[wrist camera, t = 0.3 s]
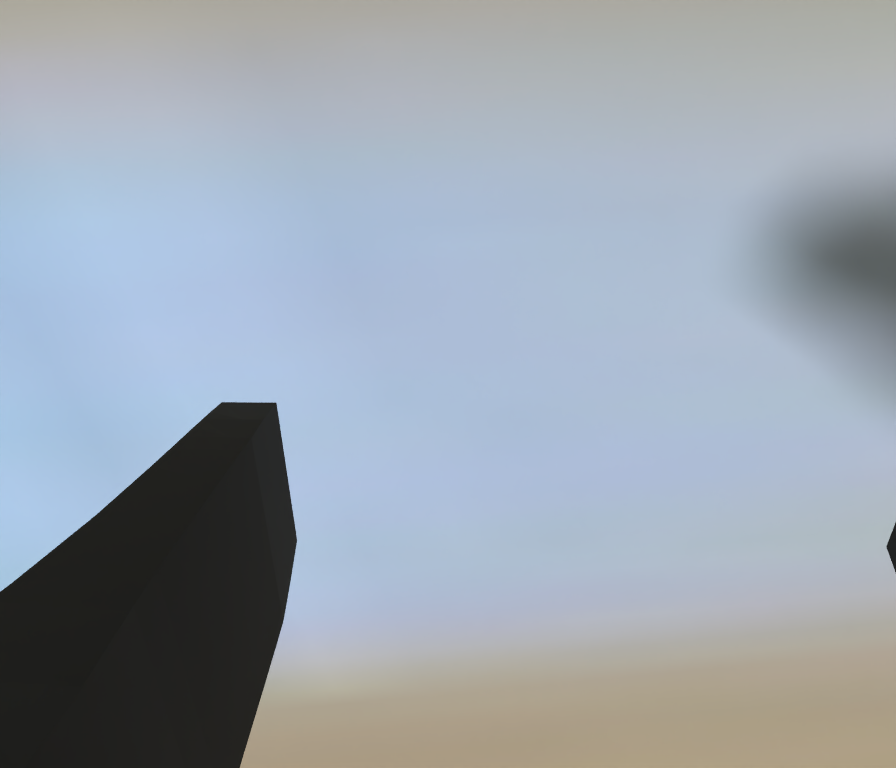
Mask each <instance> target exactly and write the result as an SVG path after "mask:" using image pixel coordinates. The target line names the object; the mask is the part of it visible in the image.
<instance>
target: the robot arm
mask: <svg viewBox="0 0 896 768" xmlns="http://www.w3.org/2000/svg"><path fill="white" fill-rule="evenodd" d="M296 543H297V537H296V531H295V524H294V517H293V511H292V504H291V497H290V491H289V484H288V477H287V471H286V464H285V457H284V451H283V444H282V437H281V431H280V424H279V417H278V411H277V404H276V403H236V402H222V403H221V404H219V405H218V406H217V407H216V408H215V409H214V410H212V411H211V412H210V413H209V414H208V415H207V416H206V417H204V418H203V419H202V420H201V421H200V422H199V423H198V424H197V425H196V426H195V427H193V428H192V429H191V430H190V431H189V432H188V433H187V434H186V435H185V436H184V437H183V438H182V439H180V440H179V441H178V442H177V443H176V444H175V445H174V446H173V447H172V448H171V449H170V450H168V451H167V452H166V453H165V454H164V455H163V456H162V457H161V458H160V459H159V460H158V461H156V462H155V463H154V464H153V465H152V466H151V467H150V468H149V469H148V470H146V471H145V472H144V473H143V474H142V475H141V476H140V477H139V478H137V479H136V480H135V481H134V482H133V483H132V484H131V485H130V486H128V487H127V488H126V489H125V490H124V491H123V492H122V493H121V494H119V495H118V496H117V497H116V498H115V499H114V500H113V501H112V502H110V503H109V504H108V505H107V506H106V507H105V508H104V509H102V510H101V511H100V512H99V513H98V514H97V515H96V516H94V517H93V518H92V519H91V520H90V521H88V522H87V523H86V524H85V525H83V526H82V527H81V528H80V529H78V530H77V531H76V532H75V533H73V534H72V535H71V536H70V537H68V538H67V539H66V540H65V541H64V542H62V543H61V544H60V545H59V546H57V547H56V548H55V549H54V550H52V551H51V552H50V553H49V554H47V555H46V556H45V557H44V558H42V559H41V560H40V561H39V562H38V563H36V564H35V565H34V566H33V567H31V568H30V569H29V570H28V571H26V572H25V573H24V574H23V575H21V576H20V577H19V578H18V579H16V580H15V581H14V582H13V583H11V584H10V585H9V586H8V587H6V588H5V589H4V590H2V591H1V592H0V768H240V764H241V761H242V758H243V754H244V751H245V748H246V745H247V741H248V738H249V735H250V731H251V728H252V725H253V721H254V718H255V715H256V711H257V708H258V705H259V702H260V698H261V695H262V692H263V688H264V685H265V682H266V678H267V675H268V672H269V668H270V665H271V661H272V658H273V655H274V651H275V648H276V645H277V641H278V638H279V634H280V631H281V627H282V624H283V620H284V614H285V609H286V603H287V598H288V592H289V586H290V580H291V574H292V568H293V562H294V555H295V549H296ZM887 550H888V552H889V555H890V558H891V561H892V563H893V566H894V569H895V572H896V523H895V526H894V528H893V531H892V534H891V536H890V539H889V542H888V544H887Z"/></svg>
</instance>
